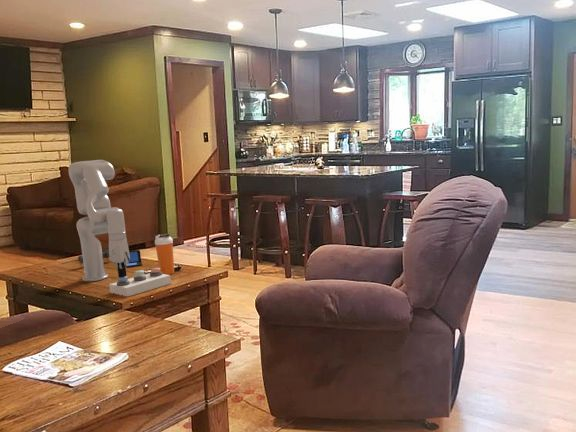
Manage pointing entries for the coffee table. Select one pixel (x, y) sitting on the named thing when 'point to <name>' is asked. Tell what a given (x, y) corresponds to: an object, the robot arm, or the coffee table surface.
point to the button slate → (123, 278)
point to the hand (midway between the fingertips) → (122, 276)
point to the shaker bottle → (165, 253)
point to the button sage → (139, 272)
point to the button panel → (140, 284)
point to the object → (134, 259)
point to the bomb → (80, 258)
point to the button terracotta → (155, 270)
